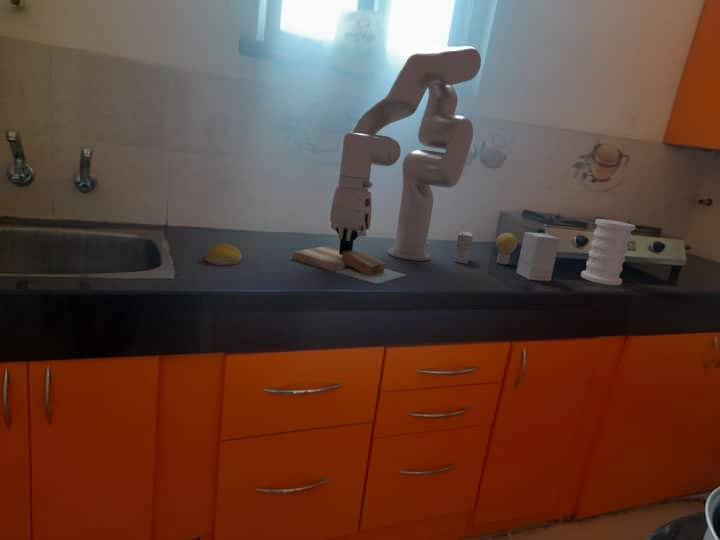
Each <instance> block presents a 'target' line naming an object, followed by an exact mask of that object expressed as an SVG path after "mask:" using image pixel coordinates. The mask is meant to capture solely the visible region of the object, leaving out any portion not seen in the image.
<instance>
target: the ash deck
mask: <svg viewBox="0 0 720 540" xmlns="http://www.w3.org/2000/svg"><path fill="white" fill-rule="evenodd" d="M339 252H340V249H337V248H334V247H330V246H328V245H326V246H320V247H313V248H307V249H300V250H294V251H292V260H295V261H299V262H301V263H305V264H307V265H311V266H314V267H316V268H317V267H318V268H321V269H324V270H327V271H330V272H334V273H336V271H338V270H342V269H347V268H351V266H350V265H348V264H346V263H344V262H342V261H341V258H342V255H340V254H339Z"/></svg>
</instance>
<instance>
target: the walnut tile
mask: <svg viewBox="0 0 720 540" xmlns="http://www.w3.org/2000/svg"><path fill="white" fill-rule="evenodd" d="M341 261H342V262H344V263H346V264H348V265H350V266H351V267H353V268H355V269H357V270H359V271H360V272H362V273H364V274H366V275H368V276H370V275H374V274H378V273H382V272H384V269H386V266H387V262H385V261H384V260H381V259H379V258H377V257H376V256H374V255H372V254H370V253H368V252H367V251H364V250H362V249H360V248H357V249H352V250H350V251H344V252H343V255H342V258H341Z"/></svg>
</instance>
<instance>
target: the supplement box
mask: <svg viewBox="0 0 720 540" xmlns="http://www.w3.org/2000/svg"><path fill="white" fill-rule="evenodd" d="M560 240H561V239H560V238H558V237H556V236H552V235H551V234H547V233H543V232H542V233H541V232H530V231H528V232H526V231H524V234H523V239H522V244H521V248H520V253H519V259H518V262H517V267H516V271H515V272H516V274H517V275H519V276H522V277H523V278H525V279H527V280H528V281H529V280H532V281H543V282H551V281H552V275H553V272H554V267H555V262H556V258H557V253H558V250H559V245H560Z"/></svg>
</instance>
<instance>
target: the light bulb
mask: <svg viewBox="0 0 720 540" xmlns="http://www.w3.org/2000/svg"><path fill="white" fill-rule="evenodd" d="M495 242H496V243H495V244H496V245H495V246H496V249H497V251H498V254H497V259H496V262H497V264H499V265H502V264H503V266H505V265H509V264H510V260H511V259H510V258H511V253H513V252H514V251H515V250H516V248H517V246H518V238H517V236H515V234H513V233H510V232H504V233H501V234H499V235H498V236H497V239H496V241H495Z"/></svg>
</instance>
